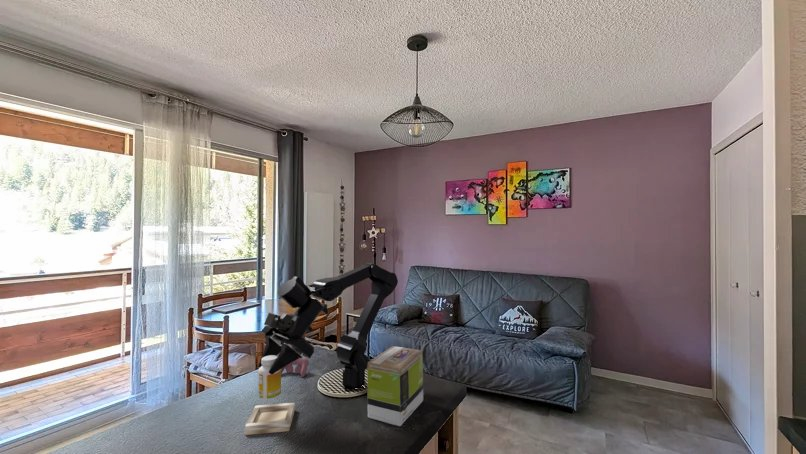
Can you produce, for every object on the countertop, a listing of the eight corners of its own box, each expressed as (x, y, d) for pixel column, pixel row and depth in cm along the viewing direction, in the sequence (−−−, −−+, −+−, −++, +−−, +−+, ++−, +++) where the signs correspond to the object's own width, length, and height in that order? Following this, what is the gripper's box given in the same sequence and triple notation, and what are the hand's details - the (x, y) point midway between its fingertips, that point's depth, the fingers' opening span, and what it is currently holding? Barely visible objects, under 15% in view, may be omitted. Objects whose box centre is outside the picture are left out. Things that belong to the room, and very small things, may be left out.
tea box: (393, 394, 100) (393, 344, 101) (424, 401, 96) (424, 349, 97) (365, 418, 87) (366, 360, 87) (400, 428, 83) (401, 367, 83)
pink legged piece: (307, 378, 115) (311, 356, 118) (303, 377, 111) (307, 354, 114) (280, 376, 116) (284, 355, 119) (274, 375, 112) (279, 353, 115)
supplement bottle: (284, 391, 88) (284, 354, 88) (275, 401, 82) (275, 361, 83) (265, 391, 88) (265, 353, 89) (254, 401, 83) (254, 361, 83)
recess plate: (294, 410, 91) (294, 402, 91) (289, 431, 81) (289, 422, 81) (255, 413, 89) (255, 405, 89) (244, 435, 79) (244, 426, 79)
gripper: (267, 296, 95) (226, 345, 87) (303, 305, 83) (259, 363, 74) (293, 318, 101) (256, 366, 92) (330, 330, 88) (291, 387, 80)
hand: (264, 370), depth 85 cm, fingers closed on supplement bottle, 5 cm apart
